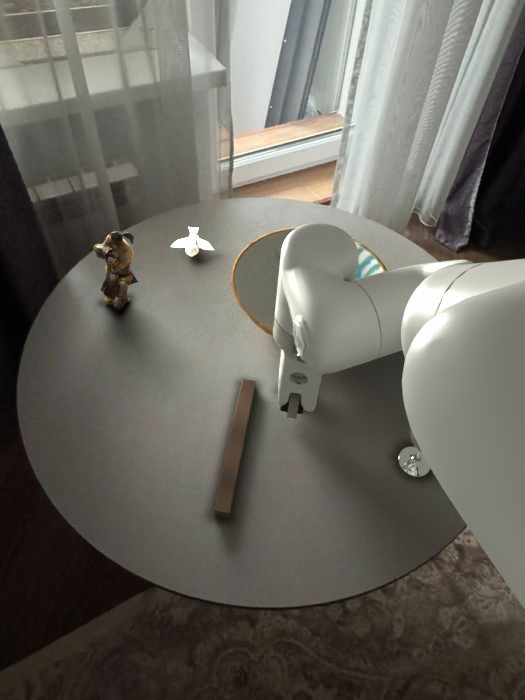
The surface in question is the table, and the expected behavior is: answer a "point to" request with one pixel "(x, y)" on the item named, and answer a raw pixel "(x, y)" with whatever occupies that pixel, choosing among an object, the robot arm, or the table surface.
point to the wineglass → (413, 459)
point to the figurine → (116, 267)
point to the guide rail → (235, 449)
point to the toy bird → (192, 243)
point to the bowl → (276, 275)
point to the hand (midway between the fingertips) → (291, 407)
